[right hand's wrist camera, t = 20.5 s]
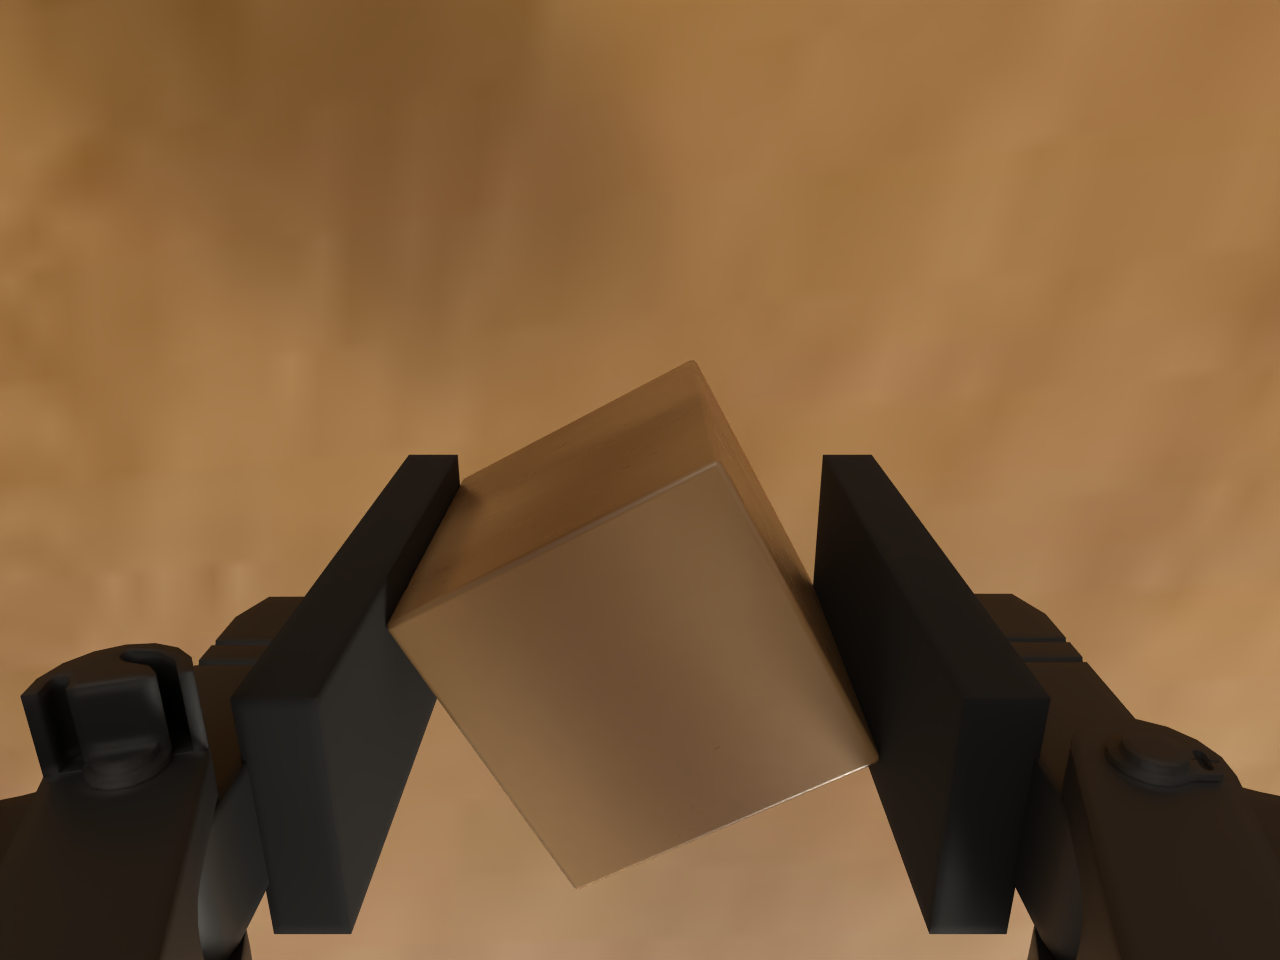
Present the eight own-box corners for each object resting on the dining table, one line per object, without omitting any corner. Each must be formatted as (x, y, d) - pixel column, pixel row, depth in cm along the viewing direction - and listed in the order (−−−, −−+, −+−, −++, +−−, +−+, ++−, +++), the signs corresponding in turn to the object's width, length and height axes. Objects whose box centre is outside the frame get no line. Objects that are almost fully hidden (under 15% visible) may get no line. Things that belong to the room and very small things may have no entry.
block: (593, 683, 16) (575, 893, 11) (460, 479, 14) (381, 627, 10) (811, 581, 15) (882, 762, 11) (694, 357, 14) (719, 458, 9)
